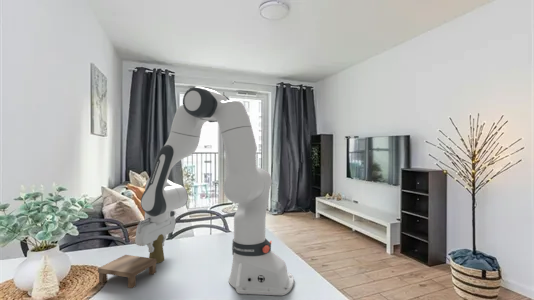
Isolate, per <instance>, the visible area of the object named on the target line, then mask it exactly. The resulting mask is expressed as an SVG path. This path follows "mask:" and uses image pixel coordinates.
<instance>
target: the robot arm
mask: <svg viewBox="0 0 534 300" xmlns="http://www.w3.org/2000/svg"><path fill="white" fill-rule="evenodd" d="M206 122H209V123H215V122H216V123H218V126H219V130H220V135H221V139H222V143H223V146H224V152H225V157H226V173H225V174H226V176H225V180H224V181H223V188H222V190H223V192H224V193H223V194H224V195H225V198H227V200H228V201H230V202H232V203H234V204H237V208H236V212H235V214H234V216H233V239H232V243H231V251H232V263H231V264H232V265H231V271H230V274H229V277H228V282H229V284H230V285H231V287H233V288H234V289H235V291H236V293H237V294H243V295H261V296H262V295H263V296H264V295H267V296H285V295H287V294H288V293H289V292H291V290H292V289H293V286H294V284H295V281H294V280H295V279H294V275H293V274H292V273H290V272H288V269H287V264H286V261H285V260H284V259H283V258H281V257H280V256H278V254H276V253H275V252H274V251H272V240H270V241H269V240H268V239H267V238H266V221H267V220H266V217H267V209H268V204H269V198H270V189H271V187H272V184H273V183H272V182H273V181H272V176H271V174H270V172H268V171H267V170H266V169H264V168H262V167H259V166H258V167H257V151H258V147H257V144H256V143H257V142H256V139H255V135H254V131H253V128H252V123H251V120H250V118H249V114H248V112H247V109H246V108H245V105H244V103H243V102H241V100H237V99H236V100H235V99H230V98H229V97H228V96H227V95H225V94H222V93H219V92H218V91H216V90H214V89H210V88H206V87H203V86H193V87H190V88H188V90H186V91H185V93H184V95H183V98H182V105H179V107H178V108H177V109H176V111H175V114H174V116H173V120H172V123H171V126H170V131H169V136H168V138H167V140H166V141H165V144H164V145H163V146H162V147H161V148H160V150H159V152H158V154H157V156H156V158H155V159H156V160H155V161H154V164H153V168H152V171H151V174H150V177H148V179H146V182H145V187H144V191H143V193H142V196H141V199H140V206H141V209H142V210H143V212H144V219H143V220H140V221H139V223H138V224H137V226H136V231H135V237H134V238H135V241H134V242H135V245H137V246H138V247H139V246H140V247H145V246H147V249H148V252H149V253H150V252H151V253H152V252H154V251H155V247H153V245H152V244H153V241H155V240H157V238H158V236H159V235H161V234H162V235H163V240H162V245H163V247H164V246H165V242H166V239H167V235H168V234H171V233H173V232H174V231H175V229H176V217H175V216H176V210H177V209H181V208H183V207H185V206H186V204H187V202H188V199H189V196H188V194H189V193H188V191H187V189H186V187H185V186H184V185H181V184H178V183H175V182H173V181H171V180H169V176H170V174H171V171H172V168H174V166H175V165H176V164H178V162H181V160H184V159H186V158H188V157H189V156H191V155H193V154H194V153H195V152H196V151H197V148H198V146H199V142H200V138H201V132H202V129H203V126H204V124H205V123H206Z"/></svg>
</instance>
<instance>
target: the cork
mask: <svg viewBox="0 0 534 300" xmlns="http://www.w3.org/2000/svg"><path fill="white" fill-rule="evenodd" d="M162 240H163V235H162V234H161V235H159V236H158V238H157V240H155V241H153V244H152V245H153V247H155V251H154V252H152V253H151V252H149V255H148V258H154V259H157V263H156V264H159V263H162V262H164V261H165V254H164V246H163V245H162Z"/></svg>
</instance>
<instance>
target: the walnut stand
mask: <svg viewBox="0 0 534 300" xmlns="http://www.w3.org/2000/svg"><path fill="white" fill-rule="evenodd" d="M156 264H158V263H157V259H154V258H149V257H145V256H138V255H129V254H124V255H122V256H120V257H118V258H115V259H113V260H112V261H109V262H108V263H105V264H104V265H100V266H99V267H98V269H97V273H98V283H99V282H101V283H100V284H104V283H106V282H107V278H108V275H111V276H119V277H124V278H127V288H129V289H133V288H135V287H136V285H137V284H136V283H137V282H136V281H137V280H136V279H137V278H136V276H137V275H139V274H141V273H143V272H145V271H146V270H148V274H149V275H154V274H156V272H157V271H156V269H157V265H156Z"/></svg>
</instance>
